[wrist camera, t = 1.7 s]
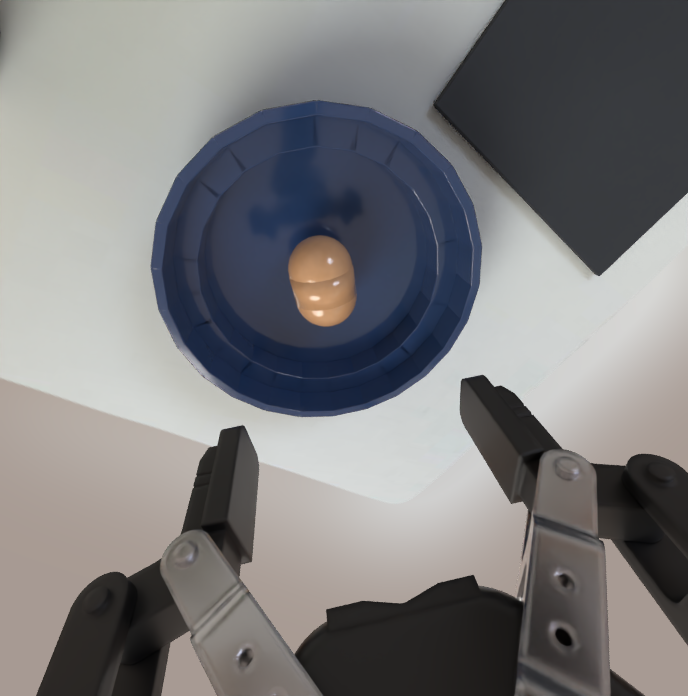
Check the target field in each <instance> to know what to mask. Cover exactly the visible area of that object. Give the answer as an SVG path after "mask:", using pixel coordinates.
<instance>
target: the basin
mask: <svg viewBox="0 0 688 696" xmlns="http://www.w3.org/2000/svg"><path fill="white" fill-rule="evenodd" d="M314 235H326V236H330V237H333V238H334V239H336V240H338V241H339V242H341V243H342V244H343V245H344V246H345V247H346V249H347V250H348V252H349V254H350V256H351V259H352V263H353V268H354V275H355V282H356V289H357V301H356V305H355V308H354V310H353V312H352V313H351V315H350V316H349V317H348V318H347V319H346V320H345V321H344V322H342V323H340V324H338V325H335V326H331V327H321V326H317V325H314V324H312V323H310V322H309V321H307V320H306V319H305V318H304V317H303V316H302V315H301V313H300V312H299V310H298V308H297V305H296V303H295V299H294V295H293V291H292V287H291V283H290V279H289V274H288V262H289V258H290V255H291V253H292V251H293V249H294V248H295V247H296V245H297V244H298V243H299V242H301V241H302V240H303V239H305V238H308V237H310V236H314ZM481 254H482V243H481V239H480V234H479V229H478V224H477V219H476V215H475V210H474V205H473V203H472V201H471V199H470V197H469V195H468V193H467V191H466V190H465V188H464V186H463V184H462V182H461V180H460V178H459V177H458V175H457V173H456V171H455V169H454V167H453V166H452V165H451V163H450V162H449V161H448V160H447V159H446V158H445V157H444V156H443V155H442V154H441V153H440V152H438V151H437V150H436V149H435V148H434V147H433V146H432V145H431V144H430V143H429V142H428V141H427V140H426V139H425V138H424V137H423V136H422V135H421V134H420V133H419V132H418V131H416V130H415V129H413V128H411V127H409V126H407V125H405V124H403V123H401V122H399V121H397V120H395V119H392V118H390V117H388V116H386V115H384V114H382V113H380V112H378V111H376V110H374V109H372V108H369V107H363V106H355V105H348V104H341V103H334V102H327V101H320V100H317V101H316V100H313V101H308V102H302V103H297V104H291V105H286V106H280V107H275V108H270V109H264V110H262V111H259V112H257V113H255V114H253V115H251V116H249V117H248V118H246V119H244V120H242V121H240V122H239V123H237V124H235V125H233V126H231V127H229V128H228V129H226V130H224V131H222V132H220V133H219V134H217V135H215V136H214V137H212V138H211V139H210V140H209V141H208V142H207V143H206V145H205V146H204V147H203V148H202V149H201V150H200V151H199V152H198V153H197V154H196V155H195V156H194V158H193V159H192V160H191V161H190V162H189V163H188V164H187V165H186V166H185V167H184V168H183V169H182V170H181V172H180V173H179V174H178V175H177V177H176V178H175V181H174V183H173V185H172V187H171V189H170V192H169V194H168V196H167V198H166V200H165V203H164V205H163V207H162V209H161V211H160V214H159V216H158V218H157V221H156V225H155V233H154V242H153V251H152V259H151V272H152V277H153V283H154V288H155V294H156V299H157V304H158V309H159V312H160V314H161V316H162V318H163V320H164V322H165V324H166V326H167V328H168V330H169V332H170V334H171V336H172V338H173V340H174V342H175V344H176V346H177V348H178V349H179V350H180V351H181V352H182V353H183V355H184V356H185V357H186V358H187V359H188V360H189V361H190V363H191V364H192V365H193V366H194V367H195V368H196V369H197V371H198V372H199V373H200V374H201V375H202V376H203V377H204V378H206V379H207V380H209V381H210V382H211V383H213V384H214V385H216V386H217V387H219V388H220V389H221V390H223V391H224V392H226V393H227V394H229V395H230V396H231V397H233V398H236V399H238V400H241V401H243V402H246V403H248V404H250V405H253V406H255V407H258V408H260V409H263V410H266V411H270V412H276V413H281V414H287V415H292V416H298V417H299V416H300V417H323V416H337V415H341V414H346V413H350V412H355V411H360V410H364V409H368V408H370V407H373V406H375V405H377V404H379V403H382V402H384V401H386V400H389V399H391V398H393V397H396V396H397V395H399V394H400V393H402V392H403V391H405V390H406V389H408V388H409V387H411V386H412V385H414V384H415V383H416V382H418V381H419V380H421V379H422V378H424V377H425V376H426V375H427V374H428V373H429V372H430V371H431V370H432V369H433V368H434V367H435V366H436V365H437V364H438V363H439V362H440V360H441V359H442V358H443V357H444V356H445V355H446V354H447V353H448V352H449V351H450V349H451V348H452V346H453V344H454V343H455V341H456V340H457V338H458V336H459V335H460V333H461V331H462V330H463V328H464V326H465V325H466V323H467V320H468V319H469V316H470V313H471V310H472V307H473V304H474V300H475V297H476V294H477V291H478V288H479V284H480V269H481Z"/></svg>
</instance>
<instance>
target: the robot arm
mask: <svg viewBox="0 0 688 696" xmlns="http://www.w3.org/2000/svg"><path fill="white" fill-rule="evenodd" d="M460 415H461V419H462V422H463V424H464V426H465V428H466V430H467V431H468V433H469V435H470V436H471V438H472V440H473V441H474V443H475V445H476V446H477V448H478V450H479V451H480V453H481V455H482V456H483V458H484V459H485V461H486V463H487V465H488V466H489V468H490V469H491V471H492V473H493V474H494V476H495V478H496V479H497V481H498V483H499V484H500V486H501V488H502V489H503V491H504V493H505V494H506V496H507V498H508V499H509V501H510V503H511V504H512V503H517V502H522V501H523V502H524V504H525V505H526V507H527V509H528V512H527V518H526V525H525V533H524V540H523V547H522V555H521V562H520V569H519V574H518V580H517V586H516V591H515V597H513V596H511V595H509V594H507V593H505V592H502V591H499V590H496V589H493V588H489V587H484V586H478V584H477V582H476V579H475V577H474V575H471V576H467V577H463V578H459V579H454V580H450V581H446V582H441V583H437V584H436V585H434V586H432V587H431V588H429V589H427V590H426V591H424V592H422V593H421V594H419V595H418V596H416V597H414V598H412V599H411V600H409V601H407V602H405V603H401V604H399V603H385V602H384V603H383V602H371V601H360V602H356V603H352V604H348V605H343V606H339V607H335V608H331V609H327V610H326V613H327V622H325V623H324V624H322V625H321V626H319V627H318V628H317V629H316V630H314V631H313V632H312V633H311V634H310V635H309V636H308V637H307V638H306V639H305V640H304V642H303V643H302V644H301V645H300V647H299V648H298V650H297V651H296V653H295V654H293V652H292V651H291V649H290V648H289V647H288V645H287V644H286V642H285V641H284V640H283V638H282V637H281V635H280V634H279V633H278V631H277V630H276V628H275V627H274V625H273V624H272V623H271V621H270V620H269V619H268V617H267V616H266V614H265V613H264V611H263V610H262V609H261V607H260V606H259V604H258V603H257V601H256V600H255V599H254V597H253V596H252V594H251V593H250V592H249V590H248V589H247V587H246V586H245V585H244V584H243V582H242V581H241V579H240V578H239V576H240V566H241V564H245V563H249V562H252V553H253V540H254V527H255V515H256V502H257V489H258V476H259V464H258V463H259V462H258V457H257V453H256V451H255V449H254V446H253V444H252V442H251V440H250V437H249V435H248V433H247V430H246V428H245V427H244V426H243V425H242V426H237V427H232V428H228V429H223V430H221V432H220V436H219V441H218V446H214V447H210V448H208V450H207V451H206V453H205V454H204V456H203V457H202V459H201V460H200V462H199V466H198V470H197V474H196V475H197V477H196V478H195V482H194V488H193V490H192V494H191V498H190V501H189V506H188V509H187V513H186V517H185V521H184V525H183V529H182V532H181V535H180V536H179V537H177V538H176V539H175V540H174V541H172V543H171V544H170V545H169V546H168V547H167V549H166V550H165V552H164V554H163V556H162V558H161V559H160V560H158V561H157V562H155V563H154V564H152V565H150V566H148V567H146V568H144V569H143V570H141V571H139V572H137V573H135V574H134V575H132V576H130V577H128V578H127V577H126V576H125V575H124V574H122V573H120V572H110V573H107V574H104V575H102V576H100V577H98V578H97V579H95V580H94V581H92V582H91V583H90V584H89V585H88V586H87V587H86V588H85V589H84V590H83V591H82V592H81V593H80V594H79V596H78V597H77V599H76V600H75V602H74V603H73V605H72V607H71V609H70V612H69V614H68V617H67V620H66V622H65V625H64V627H63V630H62V632H61V635H60V637H59V640H58V642H57V645H56V647H55V650H54V652H53V655H52V657H51V660H50V662H49V665H48V667H47V670H46V673H45V675H44V677H43V680H42V682H41V685H40V687H39V690H38V692H37V695H36V696H161V693H162V687H163V682H164V676H165V670H166V664H167V659H168V653H169V648H170V642H172V641H173V640H175V639H177V638H178V637H180V636H182V635H183V634H185V633H186V632H188V631H190V632H191V635H192V636H191V638H190V640H191V643H192V646H193V648H194V650H195V652H196V654H197V656H198V658H199V660H200V662H201V664H202V666H203V668H204V670H205V672H206V674H207V676H208V678H209V680H210V682H211V684H212V686H213V688H214V690H215V692H216V694H217V696H645V695H643V694H642V693H641V692H639V691H638V690H637V689H636V688H634V687H633V686H632V685H630V684H629V683H628V682H626V681H625V680H624V679H623V678H621V677H620V676H619V675H617V674H616V673H615V672H613V671H612V670H611V669H610V665H609V664H610V662H609V636H608V610H607V585H606V558H605V547H604V543H603V541H601V540H599V538H605V539H611V540H612V541H613V543H614V544H615V546H616V547H617V548H618V550H619V551H620V553H621V554H622V555H623V557H624V558H625V559H626V561H627V562H628V564H629V565H630V566H631V568H632V569H633V570H634V572H635V573H636V575H637V576H638V577H639V579H640V580H641V582H642V583H643V584H644V586H645V587H646V588H647V590H648V591H649V592H650V594H651V595H652V597H653V598H654V599H655V601H656V602H657V604H658V605H659V606H660V608H661V609H662V611H663V612H664V613H665V615H666V616H667V617H668V619H669V620H670V622H671V623H672V624H673V626H674V627H675V628H676V630H677V631H678V633H679V634H680V635H681V637H682V638H683V640H684V641H685V642H686V644H687V645H688V473H687V472H686V471H685V470H684V469H683V468H682V467H680V466H679V465H677V464H676V463H674V462H672V461H670V460H668V459H666V458H663V457H660V456H657V455H652V454H638V455H635V456H633V457H631V458H630V459H629V461H628V463H627V464H626V466H619V465H603V464H593V463H590V462H588V461H587V460H586V459H585V458H584V457H582V456H581V455H579V454H577V453H575V452H572V451H569V450H564V449H562V448H561V447H560V446H559V444H558V443H557V442H556V441H555V440H554V439H553V437H552V436H551V435H550V434H549V433H548V432H547V430H546V429H545V428H544V427H543V426H542V425H541V423H540V422H539V421H538V420H537V419H536V418H535V417H534V415H532V414H531V412H530V411H529V410H528V408H527V407H526V406H524V404H523V403H522V402H521V400H520V399H519V398H518V397H517V396H516V395H515V393H513V392H511V391H509V390H508V389H506V388H504V387H503V386H497V387H494V386H493V385H492V384H491V383H490V381H489V380H488V379H487V378H486V377H485V376H484V375H479V376H475V377H470V378H465V379H462V381H461V392H460Z"/></svg>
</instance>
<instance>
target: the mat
mask: <svg viewBox="0 0 688 696" xmlns="http://www.w3.org/2000/svg"><path fill="white" fill-rule="evenodd" d="M434 107H435V108H436V109H437V110H438V111H439V112H440V113H441V114H442V115H443V116H444V117H445V118H446V119H447V120H448V121H449V122H450V123H451V124H452V125H453V126H454V127H455V128H456V129H457V131H458V132H459V133H460V134H461V135H462V136H463V137H464V138H465V139H466V140H467V141H468V142H469V143H470V144H471V145H472V146H473V147H474V148H475V149H476V150H477V151H478V152H479V153H480V155H481V156H482V157H483V158H484V159H485V160H486V161H487V162H488V163H489V164H490V165H491V166H492V167H493V168H494V169H495V170H496V171H497V172H498V173H499V174H500V175H501V176H502V177H503V179H504V180H505V181H506V182H507V183H508V184H509V185H510V186H511V187H512V188H513V189H514V190H515V191H516V192H517V193H518V194H519V195H520V196H521V197H522V198H523V199H524V200H525V201H526V203H527V204H528V205H529V206H530V207H531V208H532V209H533V210H534V211H535V212H536V213H537V214H538V215H539V216H540V217H541V218H542V219H543V220H544V221H545V222H546V223H547V224H548V225H549V227H550V228H551V229H552V230H553V231H554V232H555V233H556V234H557V235H558V236H559V237H560V238H561V239H562V240H563V241H564V242H565V243H566V244H567V245H568V246H569V247H570V248H571V249H572V251H573V252H574V253H575V254H576V255H577V256H578V257H579V258H580V259H581V260H582V261H583V262H584V263H585V264H586V265H587V266H588V267H589V268H590V269H591V270H592V271H593V272H594V273H595V274H596V275H598V276H600V275H601V274H602V273H603V272H604V271H606V270H607V269H608V268H609V267H610V266H611V265H612V264H613V263H614V262H615V261H616V260H617V259H618V258H619V257H620V256H621V255H622V254H623V253H625V252H626V251H627V250H628V249H629V248H630V247H631V246H632V245H633V244H634V243H635V242H636V241H637V240H638V239H639V238H640V237H641V236H642V235H644V234H645V233H646V232H647V231H648V230H649V229H650V228H651V227H652V226H653V225H654V224H655V223H656V222H657V221H658V220H659V219H660V218H662V217H663V216H664V215H665V214H666V213H667V212H668V211H669V210H670V209H671V208H672V207H673V206H674V205H675V204H676V203H677V202H678V201H679V200H681V199H682V198H683V197H684V196H685V195H686V194H687V193H688V0H506V1H505V2H504V3H503V5H502V6H501V8H500V9H499V11H498V12H497V14H496V15H495V16H494V18H493V19H492V21H491V22H490V24H489V25H488V27H487V28H486V29H485V31H484V32H483V34H482V35H481V37H480V38H479V40H478V41H477V43H476V44H475V45H474V47H473V48H472V50H471V51H470V53H469V54H468V56H467V57H466V58H465V60H464V61H463V63H462V64H461V66H460V67H459V69H458V70H457V71H456V73H455V74H454V76H453V77H452V79H451V80H450V82H449V83H448V84H447V86H446V87H445V89H444V90H443V92H442V93H441V95H440V96H439V97H438V99H437V100H436V102H435V103H434Z"/></svg>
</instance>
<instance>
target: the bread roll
mask: <svg viewBox="0 0 688 696" xmlns="http://www.w3.org/2000/svg"><path fill="white" fill-rule="evenodd" d="M288 274H289V279H290V283H291V287H292V291H293V295H294V299H295V303H296V305H297V308H298V310H299V312H300V313H301V315H302V316H303V317H304V318H305V319H306V320H307V321H309V322H310V323H312V324H314V325H317V326H321V327H331V326H335V325H338V324H340V323H342V322H344V321H345V320H346V319H347V318H348V317H349V316H350V315H351V313H352V312H353V310H354V308H355V305H356V301H357V289H356V282H355V275H354V268H353V263H352V259H351V256H350V254H349V252H348V250H347V249H346V247H345V246H344V245H343V244H342V243H341V242H339V241H338V240H336V239H334V238H333V237H330V236H326V235H314V236H310V237H308V238H305V239H303V240H302V241H301V242H299V243H298V244H297V245H296V247H295V248H294V249H293V251H292V253H291V255H290V258H289V262H288Z"/></svg>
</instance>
